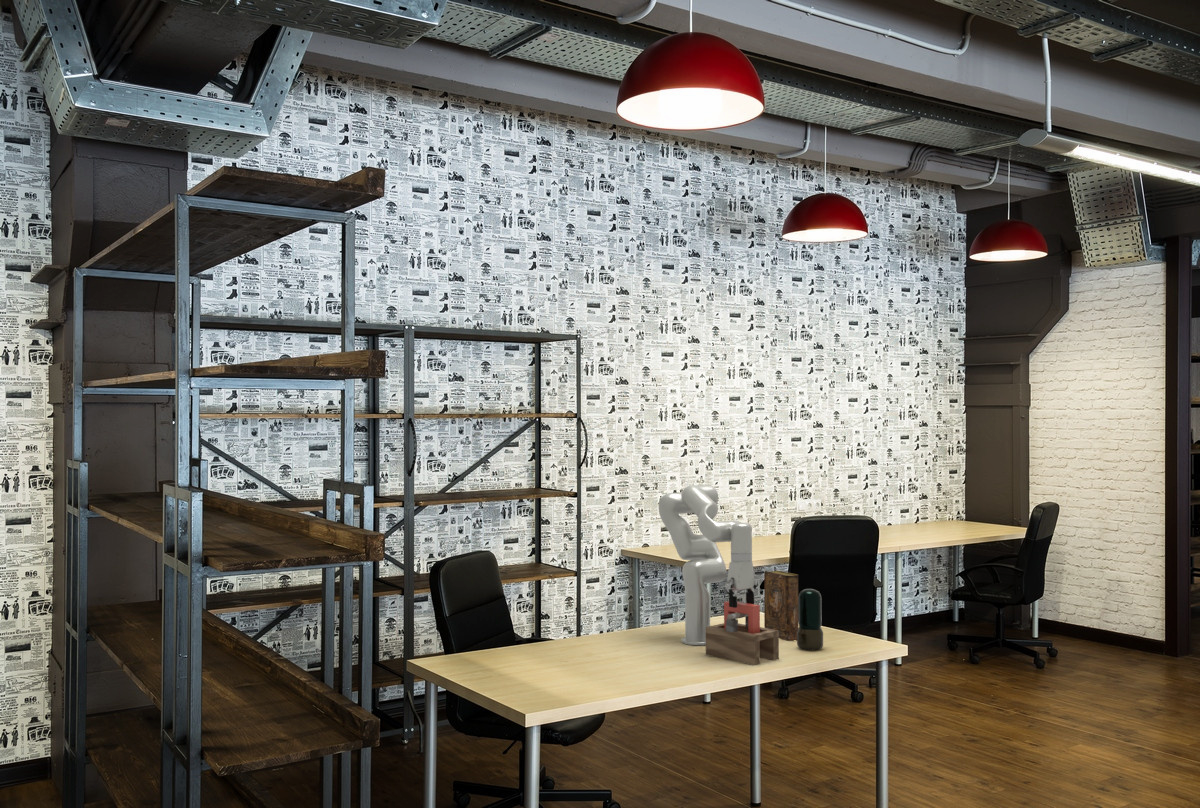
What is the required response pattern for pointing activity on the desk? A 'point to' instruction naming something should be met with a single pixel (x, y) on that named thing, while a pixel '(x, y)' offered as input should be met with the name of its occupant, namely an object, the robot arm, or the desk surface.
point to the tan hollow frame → (741, 641)
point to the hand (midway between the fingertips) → (741, 605)
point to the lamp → (809, 620)
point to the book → (781, 603)
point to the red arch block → (745, 608)
